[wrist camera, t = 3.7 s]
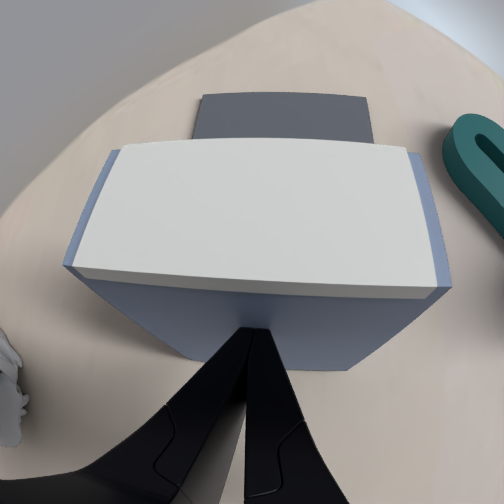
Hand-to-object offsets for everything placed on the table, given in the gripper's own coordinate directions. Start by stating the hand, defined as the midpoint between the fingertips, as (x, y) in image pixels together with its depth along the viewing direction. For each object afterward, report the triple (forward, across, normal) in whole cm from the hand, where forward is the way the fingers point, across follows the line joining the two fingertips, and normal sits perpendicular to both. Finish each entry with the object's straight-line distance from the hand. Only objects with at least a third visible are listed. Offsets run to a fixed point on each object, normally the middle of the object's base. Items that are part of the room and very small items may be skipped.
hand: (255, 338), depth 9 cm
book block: (+6, 0, +5) cm, 8 cm away
